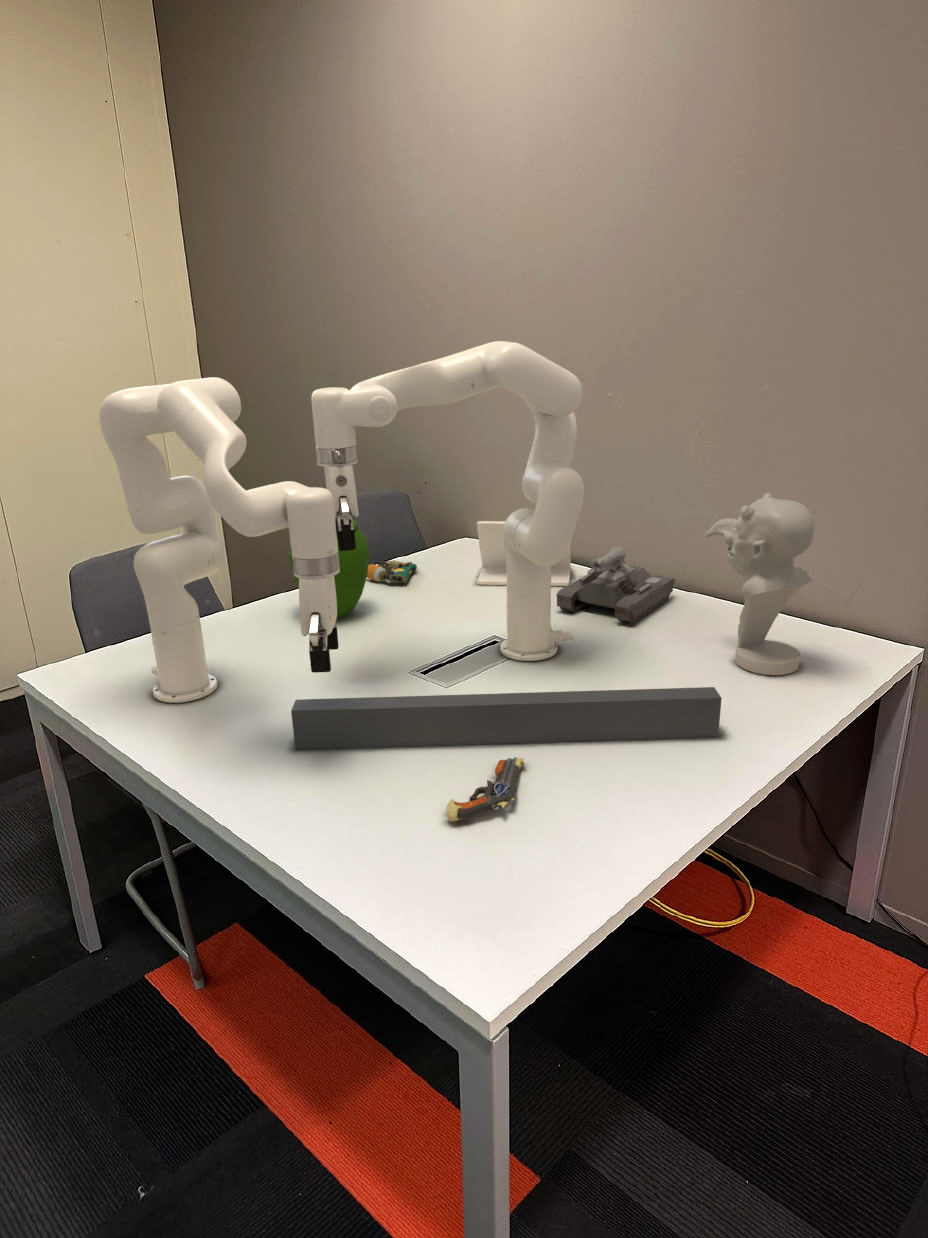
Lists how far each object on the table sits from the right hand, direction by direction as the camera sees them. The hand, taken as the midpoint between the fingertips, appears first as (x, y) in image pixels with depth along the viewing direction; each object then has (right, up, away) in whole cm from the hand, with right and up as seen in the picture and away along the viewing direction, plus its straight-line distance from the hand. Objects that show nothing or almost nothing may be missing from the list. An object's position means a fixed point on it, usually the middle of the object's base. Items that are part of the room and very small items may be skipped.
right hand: (344, 543), depth 167 cm
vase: (-9, -14, +47) cm, 50 cm away
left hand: (0, -22, -21) cm, 30 cm away
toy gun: (+27, -42, -32) cm, 60 cm away
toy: (+61, -11, +48) cm, 79 cm away
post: (+31, -36, -15) cm, 49 cm away
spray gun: (+4, -3, +75) cm, 75 cm away
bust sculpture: (+84, -23, +14) cm, 88 cm away
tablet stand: (+40, -3, +72) cm, 83 cm away
